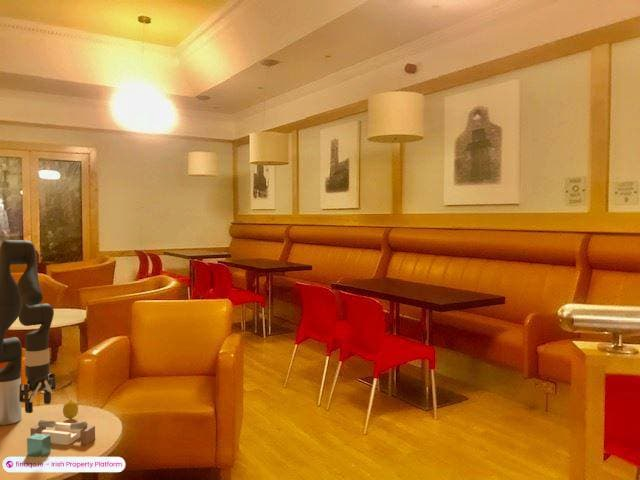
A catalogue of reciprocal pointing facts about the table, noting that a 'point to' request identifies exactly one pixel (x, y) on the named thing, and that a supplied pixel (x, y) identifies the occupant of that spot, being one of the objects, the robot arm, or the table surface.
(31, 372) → the robot arm
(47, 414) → the table surface
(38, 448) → the green rectangular block
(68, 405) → the lemon
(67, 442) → the shaft rig
